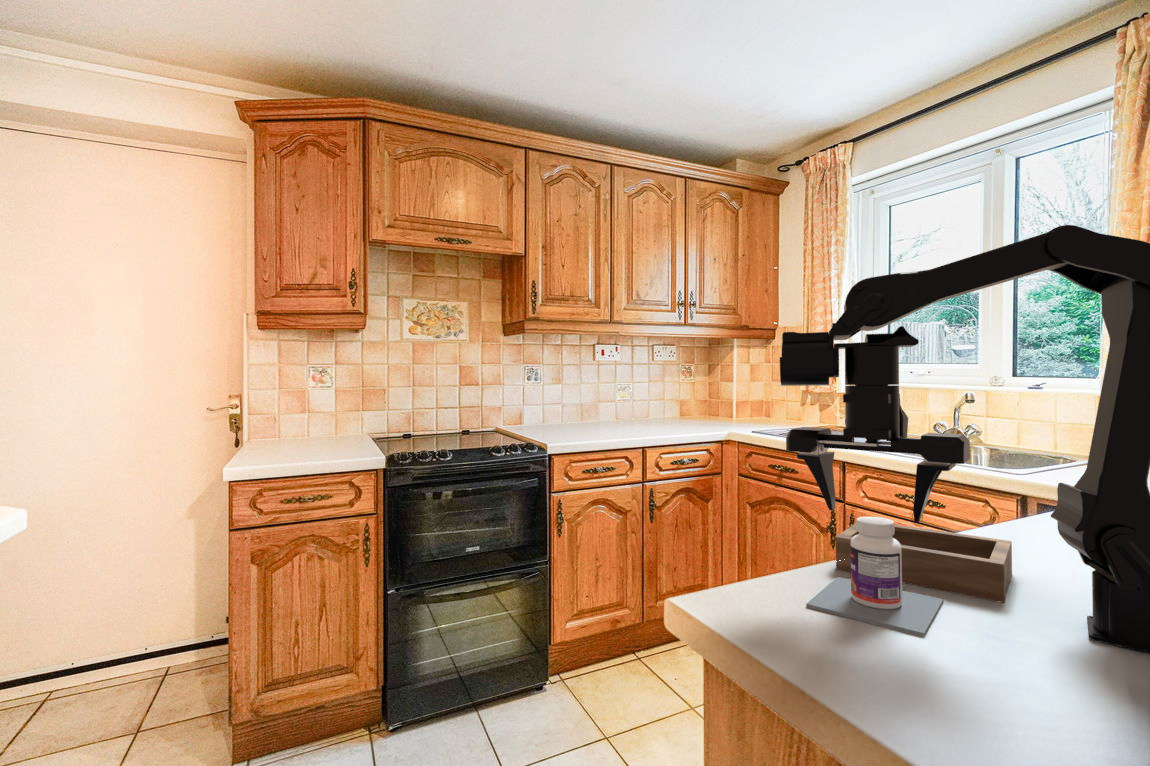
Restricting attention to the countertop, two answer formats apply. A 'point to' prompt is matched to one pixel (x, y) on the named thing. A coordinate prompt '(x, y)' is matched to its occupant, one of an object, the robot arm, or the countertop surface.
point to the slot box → (945, 561)
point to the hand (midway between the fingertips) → (872, 515)
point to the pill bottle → (876, 564)
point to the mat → (906, 618)
